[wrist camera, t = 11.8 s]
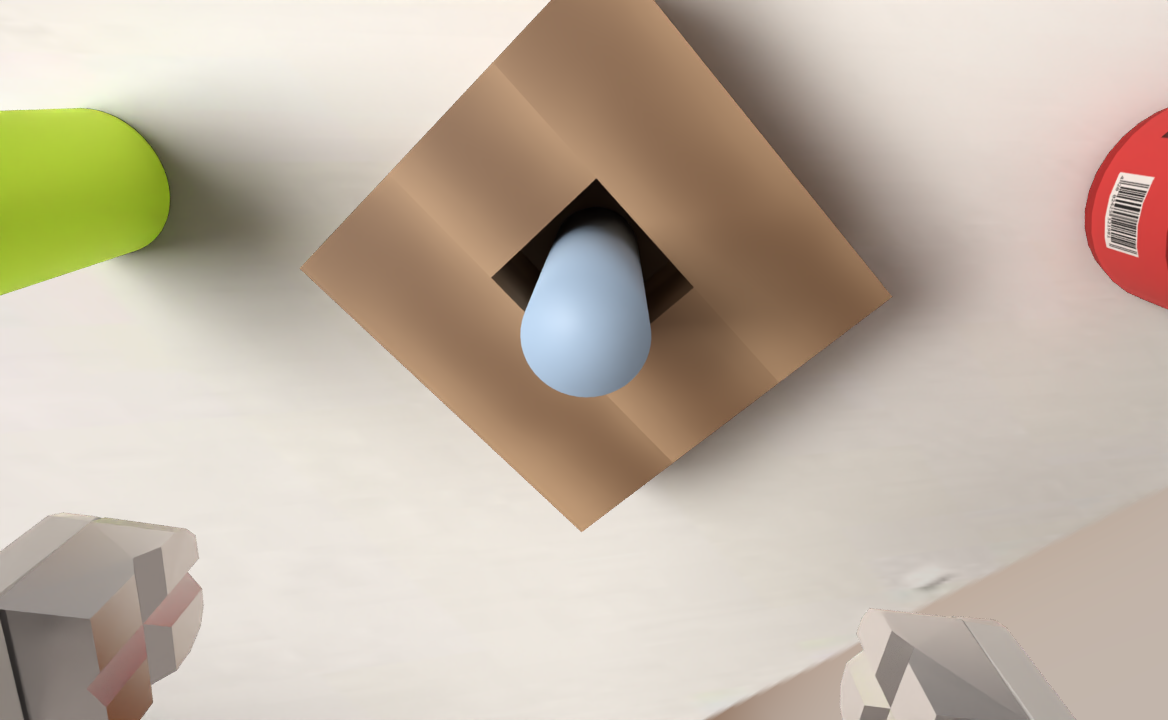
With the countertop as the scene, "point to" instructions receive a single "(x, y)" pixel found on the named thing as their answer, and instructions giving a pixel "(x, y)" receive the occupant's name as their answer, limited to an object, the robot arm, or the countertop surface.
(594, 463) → the socket block
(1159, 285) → the canned food
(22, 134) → the soap dispenser
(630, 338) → the dowel
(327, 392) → the countertop surface
